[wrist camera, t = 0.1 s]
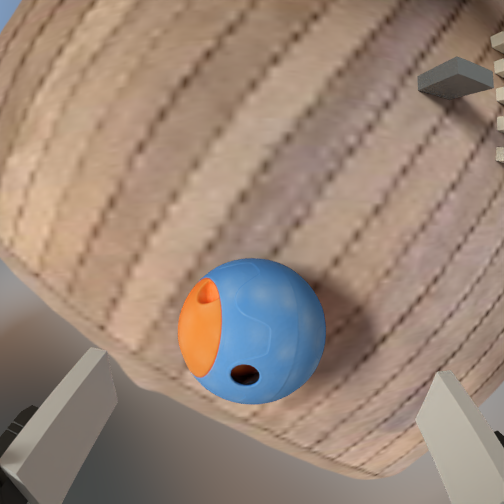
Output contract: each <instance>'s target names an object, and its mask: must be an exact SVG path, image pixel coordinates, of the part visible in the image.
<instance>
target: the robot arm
mask: <svg viewBox="0 0 504 504" xmlns="http://www.w3.org/2000/svg"><path fill="white" fill-rule="evenodd" d="M117 402H118V399H117V395H116V391H115V387H114V382H113V378H112V373H111V369H110V364H109V359H108V353H107V351H106V350H102V349H97V348H92V347H90V349H89V350H88V351H87V352H86V353H85V354H84V355H83V357H82V358H81V359H80V360H79V361H78V362H77V364H76V365H75V366H74V367H73V368H72V369H71V370H70V372H69V373H68V374H67V375H66V376H65V378H64V379H63V380H62V381H61V382H60V383H59V385H58V386H57V387H56V388H55V389H54V391H53V392H52V393H51V394H50V396H49V397H48V398H47V399H46V400H45V402H44V403H43V404H42V405H41V407H40V408H38V407H35V406H33V405H32V406H30V407H28V408H26V409H25V410H23V411H21V413H20V414H19V415H18V416H17V417H16V418H15V419H14V421H13V423H11V424H10V426H9V427H8V429H7V430H6V431H5V432H4V433H3V434H2V435H1V437H0V504H27V502H29V503H30V504H61V503H62V501H63V499H64V497H65V495H66V493H67V492H68V490H69V488H70V486H71V484H72V482H73V481H74V479H75V477H76V475H77V473H78V471H79V469H80V468H81V466H82V464H83V462H84V460H85V459H86V457H87V455H88V453H89V451H90V449H91V448H92V446H93V444H94V442H95V441H96V438H97V437H98V435H99V434H100V432H101V430H102V428H103V427H104V425H105V423H106V421H107V419H108V418H109V416H110V414H111V413H112V411H113V409H114V408H115V406H116V404H117ZM415 420H416V423H417V425H418V427H419V429H420V431H421V433H422V435H423V438H424V440H425V442H426V444H427V447H428V449H429V451H430V453H431V455H432V458H433V460H434V463H435V465H436V467H437V470H438V472H439V474H440V477H441V479H442V481H443V484H444V486H445V488H446V491H447V494H448V496H449V499H450V501H451V504H504V436H503V435H502V434H501V433H500V432H499V431H495V432H493V430H492V429H491V427H490V426H489V424H488V423H487V421H486V420H485V418H484V417H483V415H482V414H481V412H480V411H479V409H478V408H477V406H476V405H475V403H474V402H473V400H472V399H471V398H470V396H469V395H468V393H467V392H466V390H465V389H464V388H463V386H462V385H461V383H460V382H459V381H458V379H457V378H456V377H455V375H454V374H453V372H452V371H451V370H450V371H440V372H437V373H436V375H435V377H434V380H433V382H432V384H431V387H430V389H429V391H428V393H427V396H426V398H425V400H424V402H423V404H422V406H421V408H420V411H419V413H418V415H417V417H416V419H415Z"/></svg>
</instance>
